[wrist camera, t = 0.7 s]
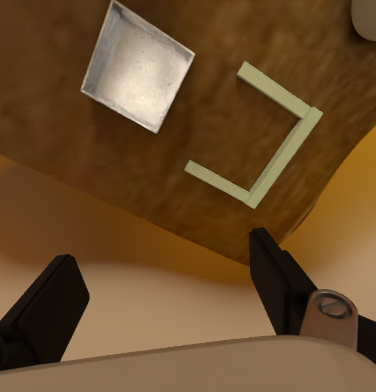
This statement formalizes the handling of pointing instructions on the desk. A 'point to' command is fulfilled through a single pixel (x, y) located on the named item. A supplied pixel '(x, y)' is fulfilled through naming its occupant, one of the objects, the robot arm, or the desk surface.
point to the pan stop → (284, 153)
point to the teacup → (364, 18)
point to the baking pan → (136, 68)
